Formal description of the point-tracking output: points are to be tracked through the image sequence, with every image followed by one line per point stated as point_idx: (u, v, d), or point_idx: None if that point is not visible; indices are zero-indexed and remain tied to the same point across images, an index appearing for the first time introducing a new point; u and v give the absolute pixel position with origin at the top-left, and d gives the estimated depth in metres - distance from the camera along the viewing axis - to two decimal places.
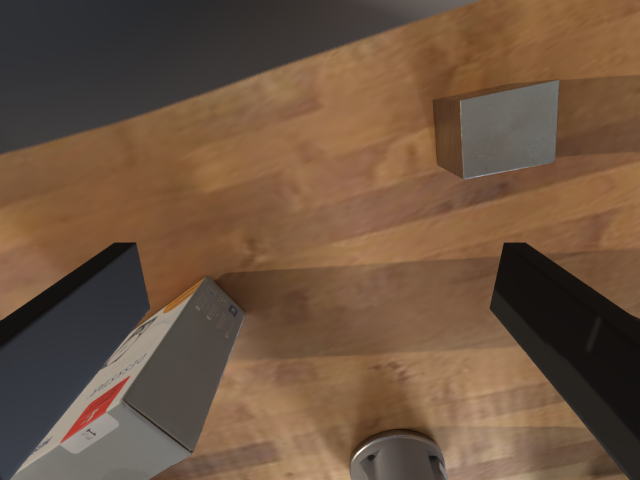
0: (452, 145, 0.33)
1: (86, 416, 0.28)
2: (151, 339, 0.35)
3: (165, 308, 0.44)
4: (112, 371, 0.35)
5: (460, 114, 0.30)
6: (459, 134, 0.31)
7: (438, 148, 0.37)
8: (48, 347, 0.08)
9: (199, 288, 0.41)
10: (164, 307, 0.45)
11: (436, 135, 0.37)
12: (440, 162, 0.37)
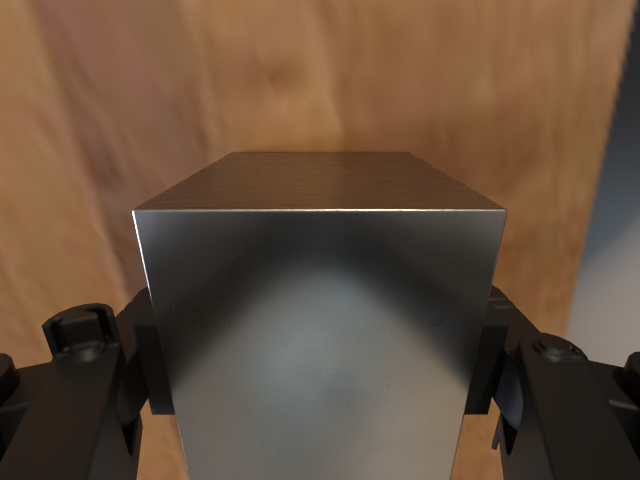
0: (295, 180, 0.09)
1: None
2: None
3: None
4: None
5: (443, 207, 0.06)
6: (346, 202, 0.07)
7: (279, 155, 0.13)
8: None
9: None
10: None
11: (316, 153, 0.13)
12: (238, 156, 0.12)
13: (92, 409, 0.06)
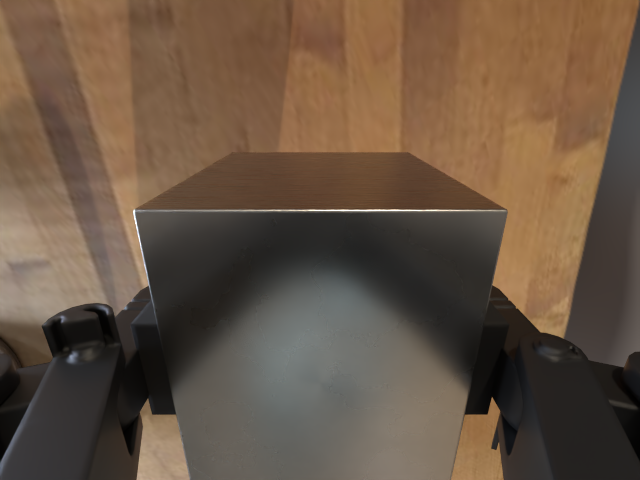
0: (296, 180, 0.09)
1: None
2: None
3: None
4: None
5: (443, 207, 0.06)
6: (347, 203, 0.07)
7: (280, 155, 0.13)
8: None
9: None
10: None
11: (316, 153, 0.13)
12: (239, 156, 0.12)
13: (92, 409, 0.06)
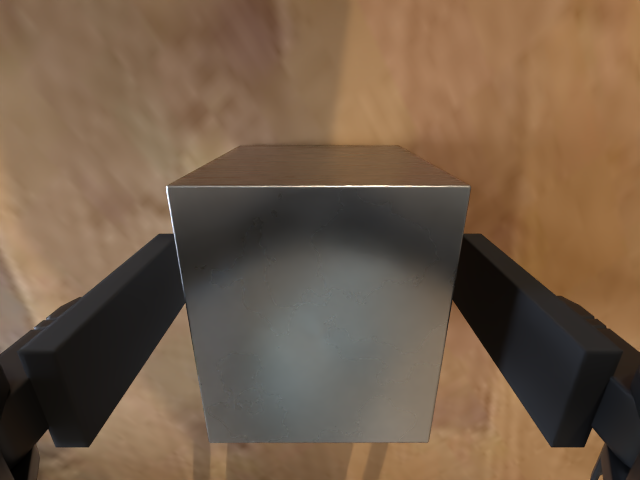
0: (297, 166, 0.10)
1: None
2: None
3: None
4: None
5: (419, 184, 0.08)
6: (340, 181, 0.08)
7: (282, 147, 0.14)
8: (118, 325, 0.09)
9: None
10: None
11: (315, 146, 0.14)
12: (246, 149, 0.14)
13: None
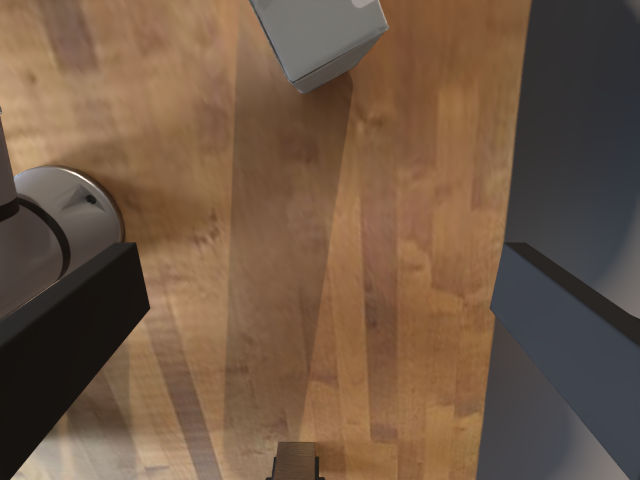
0: (291, 469, 0.60)
1: None
2: None
3: None
4: None
5: None
6: None
7: (288, 446, 0.64)
8: (48, 347, 0.08)
9: None
10: None
11: (295, 444, 0.64)
12: (280, 448, 0.64)
13: None
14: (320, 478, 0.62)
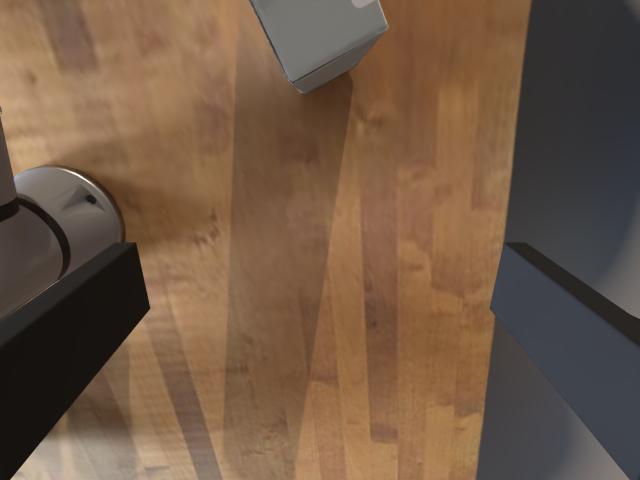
0: None
1: None
2: None
3: None
4: None
5: None
6: None
7: None
8: (48, 347, 0.08)
9: None
10: None
11: None
12: None
13: None
14: None
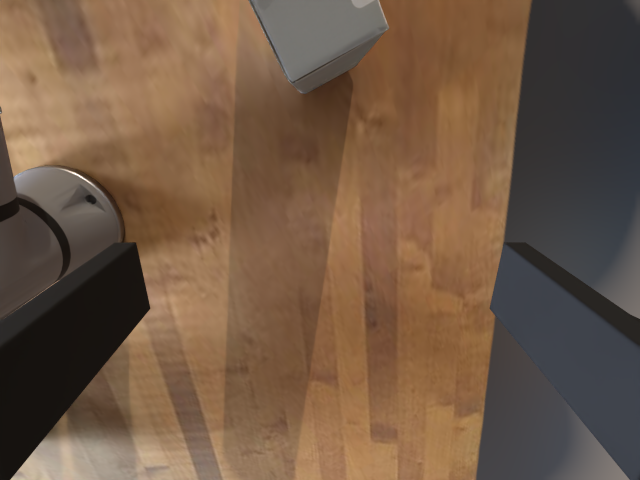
0: None
1: None
2: None
3: None
4: None
5: None
6: None
7: None
8: (48, 347, 0.08)
9: None
10: None
11: None
12: None
13: None
14: None
